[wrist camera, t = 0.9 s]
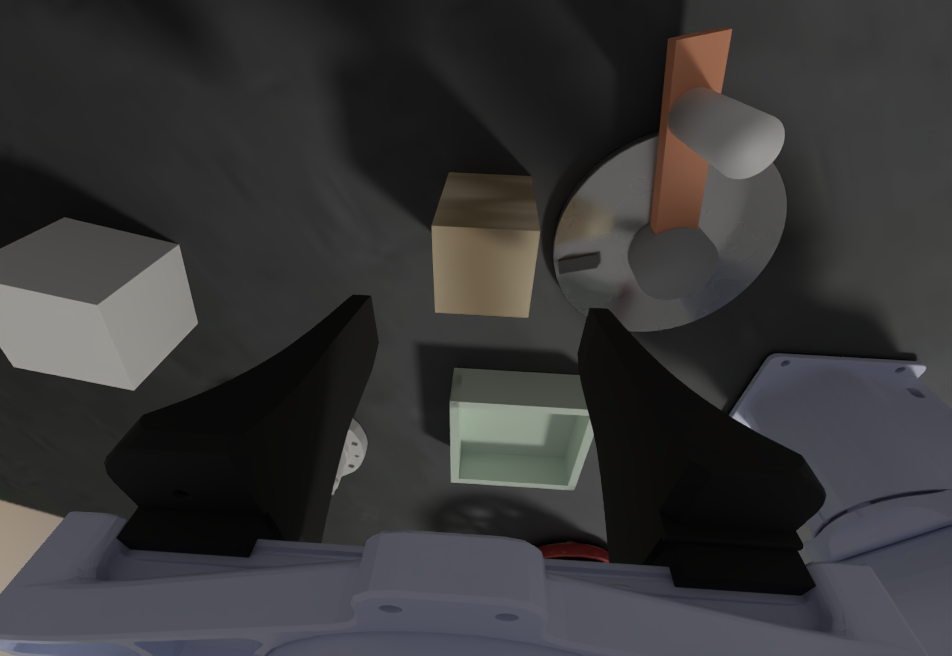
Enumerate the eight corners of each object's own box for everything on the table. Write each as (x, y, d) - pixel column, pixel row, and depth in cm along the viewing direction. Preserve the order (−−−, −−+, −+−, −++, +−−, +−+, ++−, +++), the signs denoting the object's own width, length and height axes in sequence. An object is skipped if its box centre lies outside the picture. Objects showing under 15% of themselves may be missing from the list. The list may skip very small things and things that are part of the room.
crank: (697, 275, 21) (749, 350, 17) (625, 284, 22) (657, 358, 17) (744, 21, 15) (852, 31, 10) (640, 42, 15) (697, 61, 11)
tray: (594, 375, 28) (602, 410, 25) (569, 456, 34) (574, 490, 31) (454, 367, 28) (449, 401, 25) (454, 449, 34) (451, 482, 32)
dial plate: (827, 132, 17) (840, 137, 17) (721, 328, 24) (728, 338, 24) (572, 120, 18) (575, 125, 17) (539, 318, 25) (541, 328, 24)
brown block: (531, 176, 19) (540, 231, 15) (523, 250, 22) (527, 317, 17) (448, 172, 20) (431, 225, 15) (449, 246, 22) (435, 312, 17)
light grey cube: (180, 243, 23) (97, 305, 18) (199, 322, 27) (134, 390, 22) (64, 216, 22) (-52, 273, 18) (100, 301, 26) (12, 367, 21)
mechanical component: (346, 388, 30) (224, 393, 31) (326, 437, 27) (190, 441, 28) (382, 463, 36) (279, 465, 38) (369, 511, 33) (256, 512, 34)
